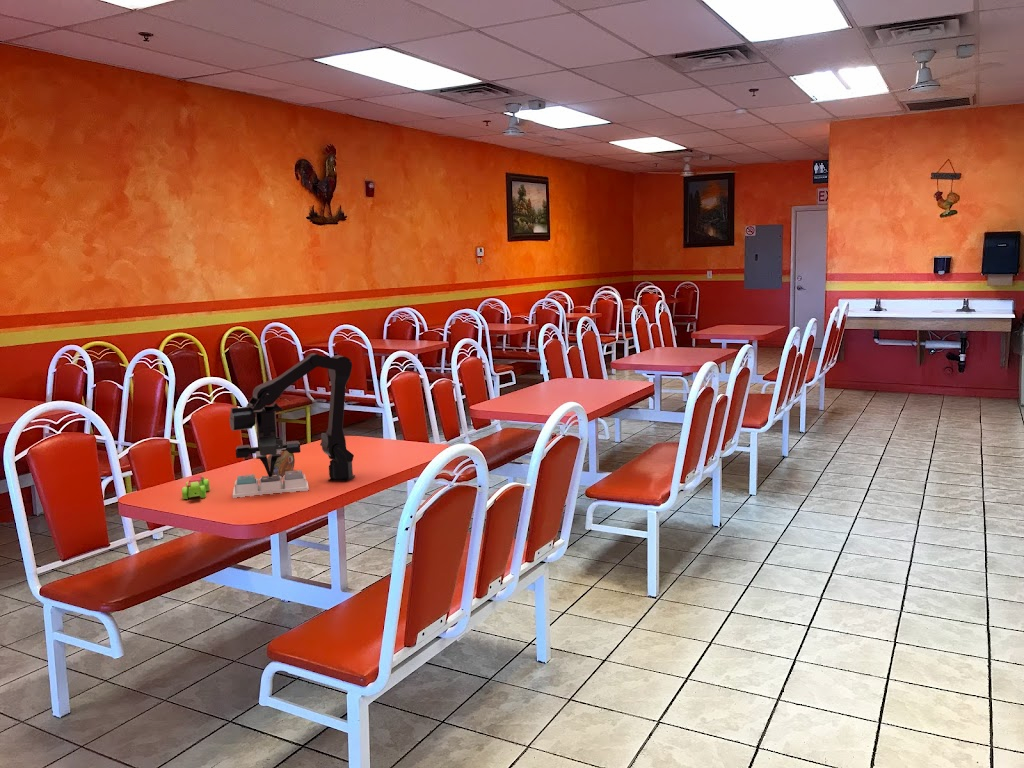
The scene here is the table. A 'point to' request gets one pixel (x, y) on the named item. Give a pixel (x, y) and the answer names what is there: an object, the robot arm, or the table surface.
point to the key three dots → (270, 478)
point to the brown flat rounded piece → (283, 463)
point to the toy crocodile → (196, 487)
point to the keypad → (270, 487)
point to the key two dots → (293, 475)
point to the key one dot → (246, 479)
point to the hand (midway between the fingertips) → (270, 476)
